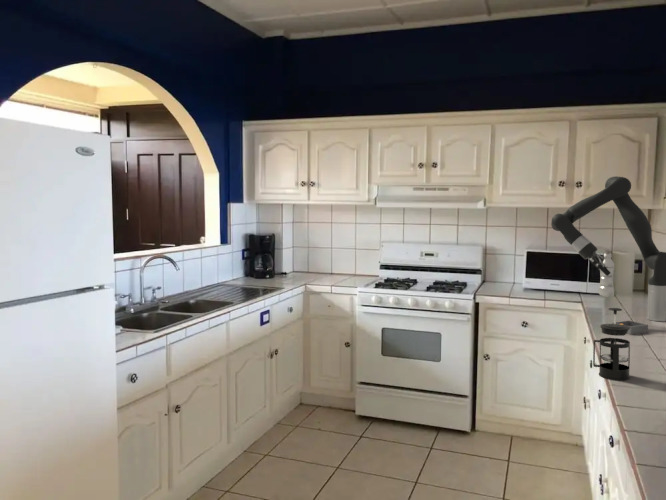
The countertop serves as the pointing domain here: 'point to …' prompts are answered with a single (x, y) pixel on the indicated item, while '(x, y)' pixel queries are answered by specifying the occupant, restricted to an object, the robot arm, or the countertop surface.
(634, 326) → the socket collar
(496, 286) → the countertop surface
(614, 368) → the french press
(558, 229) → the robot arm
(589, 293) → the countertop surface
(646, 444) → the countertop surface
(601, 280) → the silver metal bottle
